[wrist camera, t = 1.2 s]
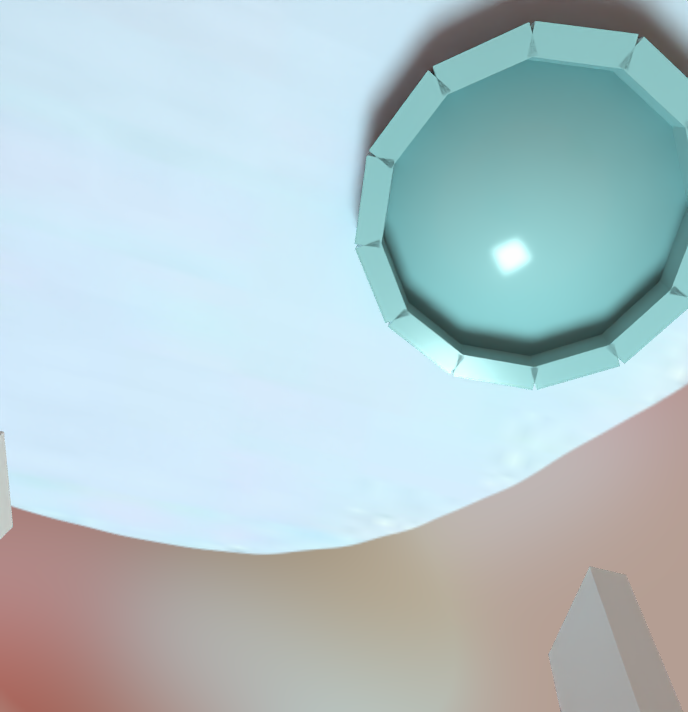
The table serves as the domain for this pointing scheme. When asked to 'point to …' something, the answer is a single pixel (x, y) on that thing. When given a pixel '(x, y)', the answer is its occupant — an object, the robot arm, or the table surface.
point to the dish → (532, 206)
